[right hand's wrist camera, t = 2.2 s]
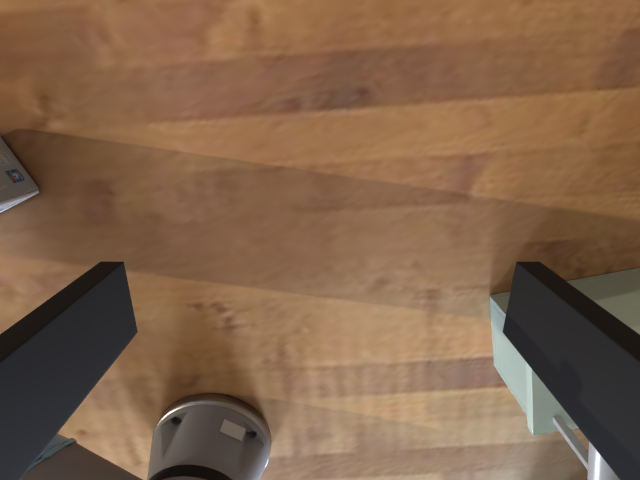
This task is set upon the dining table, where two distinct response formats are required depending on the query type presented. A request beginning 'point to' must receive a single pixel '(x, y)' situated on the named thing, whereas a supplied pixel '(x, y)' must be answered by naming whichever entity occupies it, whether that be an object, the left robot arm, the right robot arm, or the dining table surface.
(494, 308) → the chest
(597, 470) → the lid
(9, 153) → the hard drive box
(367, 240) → the dining table surface
